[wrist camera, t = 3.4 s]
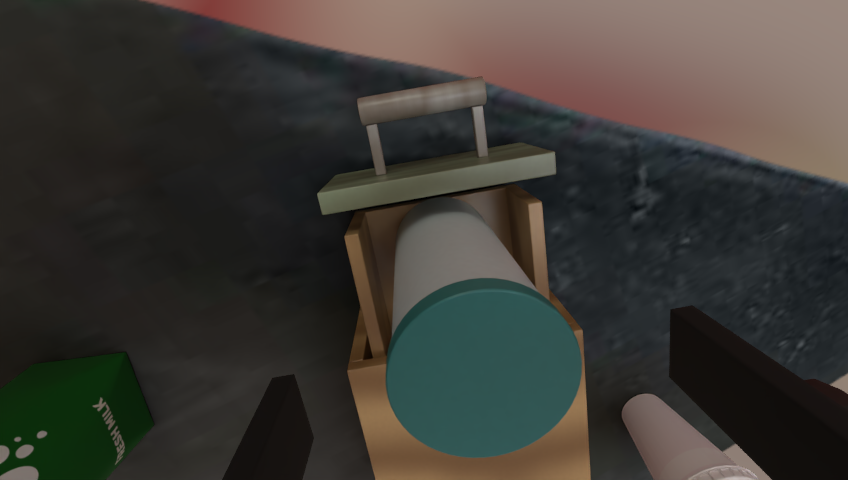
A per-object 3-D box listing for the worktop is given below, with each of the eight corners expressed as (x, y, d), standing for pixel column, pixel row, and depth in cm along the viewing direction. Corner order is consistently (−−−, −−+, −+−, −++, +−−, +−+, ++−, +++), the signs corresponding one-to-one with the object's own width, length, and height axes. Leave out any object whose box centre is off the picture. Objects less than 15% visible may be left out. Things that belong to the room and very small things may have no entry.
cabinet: (360, 305, 32) (346, 371, 24) (537, 274, 32) (583, 329, 24) (397, 460, 36) (395, 558, 28) (551, 433, 36) (593, 523, 28)
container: (384, 204, 27) (366, 309, 13) (485, 186, 27) (578, 272, 13) (403, 295, 29) (404, 473, 15) (496, 278, 29) (587, 441, 15)
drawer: (319, 107, 26) (294, 106, 20) (514, 73, 26) (549, 62, 20) (377, 354, 32) (371, 412, 26) (537, 326, 32) (570, 378, 26)
